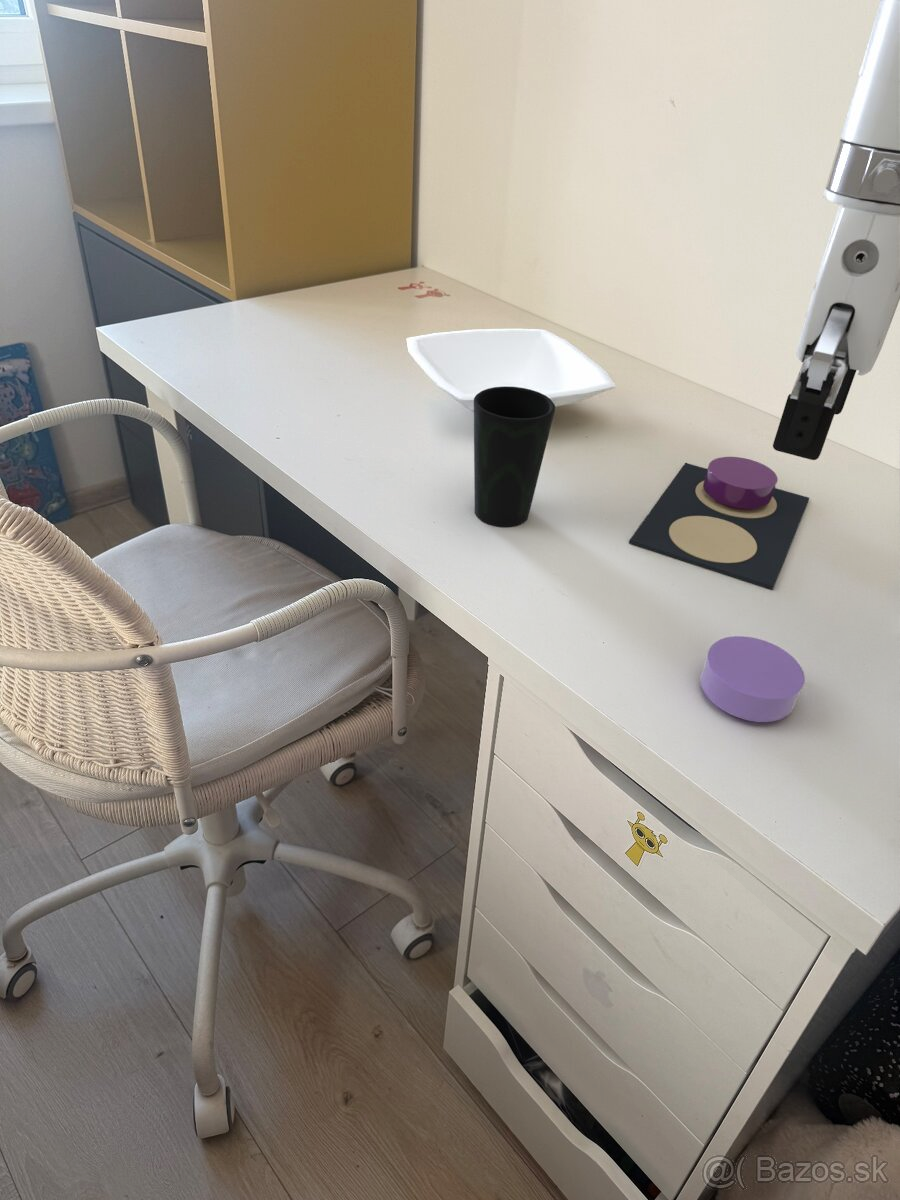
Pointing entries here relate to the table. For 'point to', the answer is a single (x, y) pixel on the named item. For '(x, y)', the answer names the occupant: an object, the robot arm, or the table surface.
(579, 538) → the table surface
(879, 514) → the table surface
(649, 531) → the placemat
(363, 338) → the table surface
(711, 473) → the purple short cylinder
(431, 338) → the bowl
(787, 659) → the lavender short cylinder
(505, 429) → the cup
